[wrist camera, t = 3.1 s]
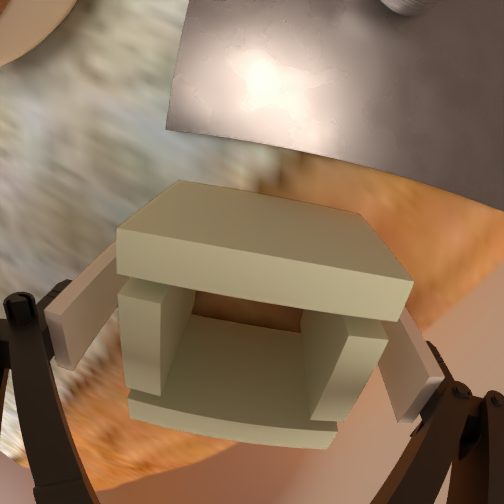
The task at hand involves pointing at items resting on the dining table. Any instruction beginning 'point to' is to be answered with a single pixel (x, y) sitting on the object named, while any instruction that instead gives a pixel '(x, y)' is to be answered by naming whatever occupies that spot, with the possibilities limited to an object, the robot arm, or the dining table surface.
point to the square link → (248, 336)
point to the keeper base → (353, 84)
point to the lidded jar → (28, 24)
